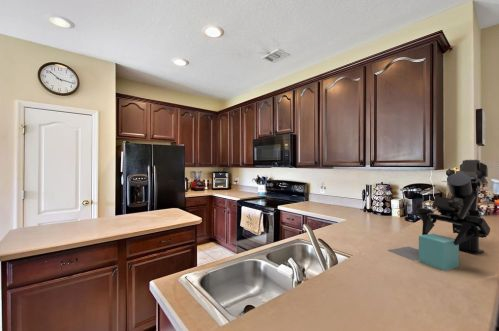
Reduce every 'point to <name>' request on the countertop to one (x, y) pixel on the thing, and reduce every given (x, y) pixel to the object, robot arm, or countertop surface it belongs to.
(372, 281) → the countertop surface
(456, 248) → the teal rectangular block
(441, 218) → the robot arm
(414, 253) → the mat
